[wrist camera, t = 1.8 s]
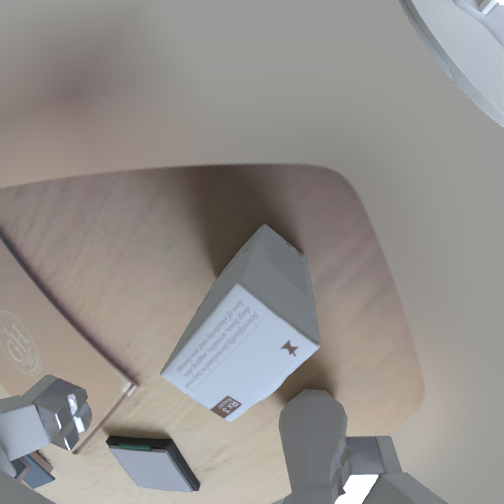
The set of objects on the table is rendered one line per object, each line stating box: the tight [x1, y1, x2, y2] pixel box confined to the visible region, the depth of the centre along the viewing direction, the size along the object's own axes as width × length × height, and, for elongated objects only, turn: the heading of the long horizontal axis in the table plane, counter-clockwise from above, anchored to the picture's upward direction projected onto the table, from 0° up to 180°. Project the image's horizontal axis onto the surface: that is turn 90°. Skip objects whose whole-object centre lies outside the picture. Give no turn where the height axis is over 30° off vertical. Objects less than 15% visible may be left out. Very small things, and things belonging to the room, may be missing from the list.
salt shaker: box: [279, 389, 347, 504], centre depth 20 cm, size 6×6×13 cm
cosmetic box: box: [160, 224, 321, 422], centre depth 18 cm, size 6×4×12 cm
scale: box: [106, 436, 200, 492], centre depth 30 cm, size 9×9×2 cm
